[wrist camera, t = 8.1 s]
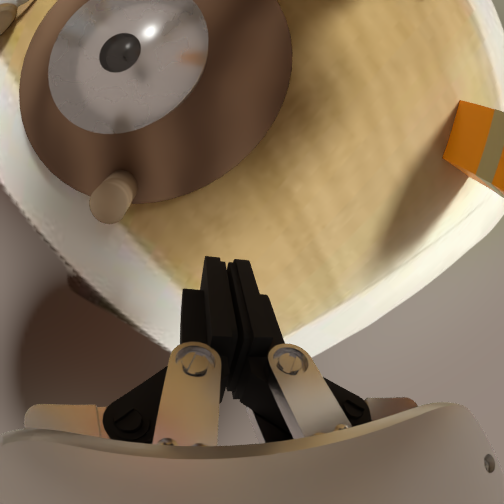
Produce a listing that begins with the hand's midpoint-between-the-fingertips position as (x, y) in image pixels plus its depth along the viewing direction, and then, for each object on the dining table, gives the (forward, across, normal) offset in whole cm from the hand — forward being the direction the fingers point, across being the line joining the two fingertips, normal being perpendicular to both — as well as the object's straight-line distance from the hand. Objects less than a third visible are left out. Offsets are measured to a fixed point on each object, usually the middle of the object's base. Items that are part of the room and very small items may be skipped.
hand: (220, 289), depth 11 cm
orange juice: (+16, -31, -14) cm, 37 cm away
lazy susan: (+16, +7, -10) cm, 20 cm away
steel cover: (+13, +8, -10) cm, 19 cm away
